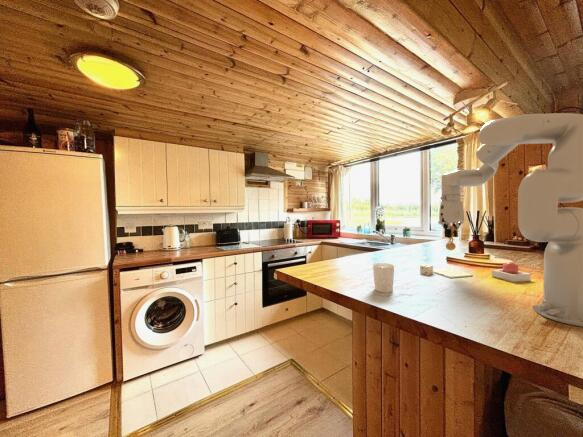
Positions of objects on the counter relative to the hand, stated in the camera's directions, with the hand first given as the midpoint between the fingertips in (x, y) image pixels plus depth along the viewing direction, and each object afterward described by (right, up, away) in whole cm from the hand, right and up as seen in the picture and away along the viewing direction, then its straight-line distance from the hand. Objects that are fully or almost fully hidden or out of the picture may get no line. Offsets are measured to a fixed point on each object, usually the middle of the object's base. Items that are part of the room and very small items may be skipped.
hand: (451, 236), depth 113 cm
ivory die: (-10, -18, +3) cm, 21 cm away
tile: (0, -18, +1) cm, 18 cm away
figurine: (+2, -6, +1) cm, 7 cm away
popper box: (+20, -18, -9) cm, 29 cm away
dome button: (+20, -16, -9) cm, 27 cm away
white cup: (-40, -20, -18) cm, 48 cm away
